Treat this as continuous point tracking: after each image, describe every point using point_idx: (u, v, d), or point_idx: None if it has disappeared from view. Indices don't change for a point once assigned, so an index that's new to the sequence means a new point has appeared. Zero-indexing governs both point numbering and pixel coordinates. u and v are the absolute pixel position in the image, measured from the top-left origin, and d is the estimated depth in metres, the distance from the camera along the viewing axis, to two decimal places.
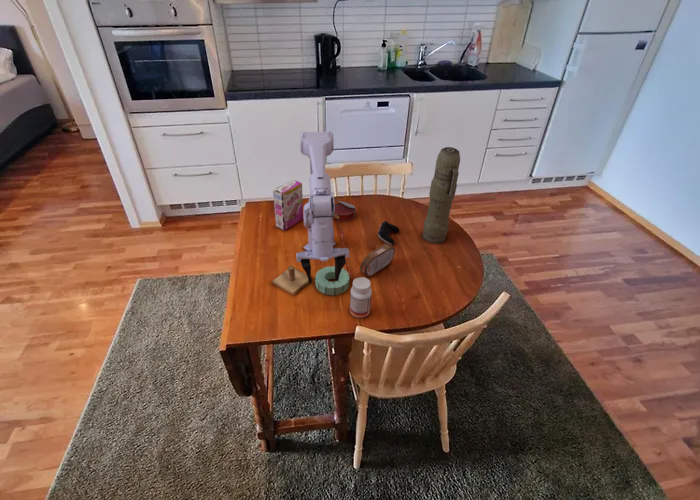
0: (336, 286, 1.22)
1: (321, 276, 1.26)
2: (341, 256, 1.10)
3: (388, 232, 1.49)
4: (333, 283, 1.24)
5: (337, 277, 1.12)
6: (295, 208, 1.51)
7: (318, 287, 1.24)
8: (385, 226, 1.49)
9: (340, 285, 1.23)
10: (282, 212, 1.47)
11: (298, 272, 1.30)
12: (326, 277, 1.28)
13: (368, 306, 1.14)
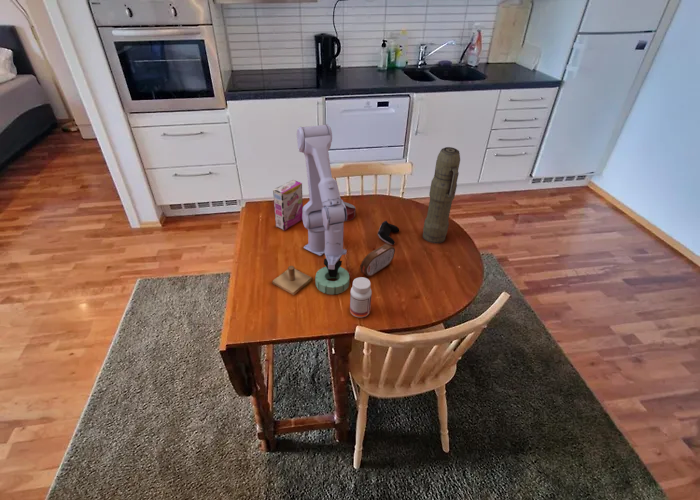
0: (337, 285, 1.23)
1: (321, 275, 1.26)
2: None
3: (388, 232, 1.49)
4: (333, 282, 1.24)
5: None
6: (295, 208, 1.51)
7: (318, 286, 1.25)
8: (385, 226, 1.49)
9: (340, 284, 1.23)
10: (282, 212, 1.47)
11: (298, 272, 1.30)
12: (326, 276, 1.28)
13: (368, 306, 1.14)
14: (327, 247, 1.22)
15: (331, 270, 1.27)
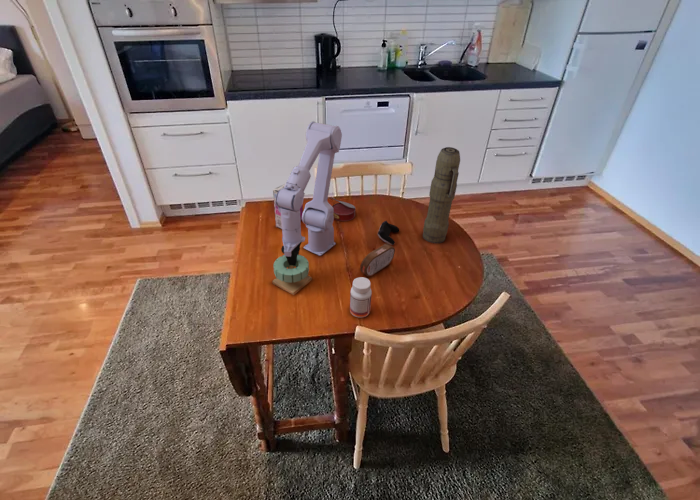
0: (294, 273, 1.20)
1: (280, 263, 1.24)
2: None
3: (388, 232, 1.49)
4: (291, 270, 1.21)
5: (298, 254, 1.29)
6: None
7: (276, 274, 1.22)
8: (385, 226, 1.49)
9: (298, 272, 1.21)
10: None
11: None
12: (285, 265, 1.26)
13: (368, 306, 1.14)
14: (284, 234, 1.19)
15: (290, 258, 1.24)
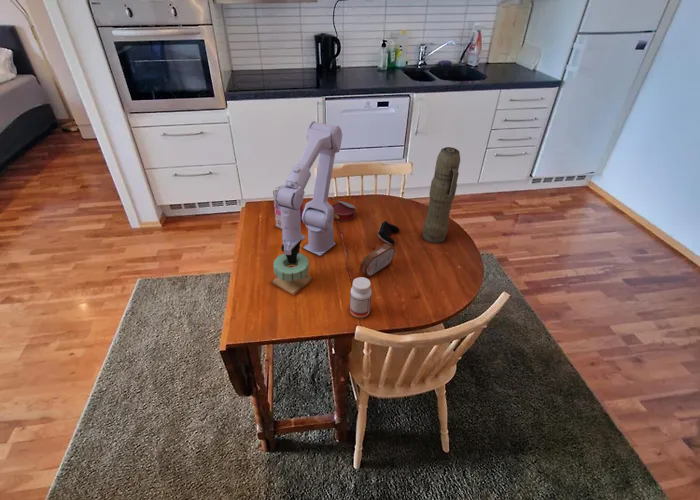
0: (294, 271, 1.20)
1: (280, 262, 1.24)
2: None
3: (388, 232, 1.49)
4: (291, 269, 1.21)
5: (298, 252, 1.28)
6: None
7: (276, 273, 1.22)
8: (385, 226, 1.49)
9: (298, 271, 1.20)
10: None
11: None
12: (285, 263, 1.26)
13: (368, 306, 1.14)
14: (284, 232, 1.19)
15: (290, 256, 1.24)
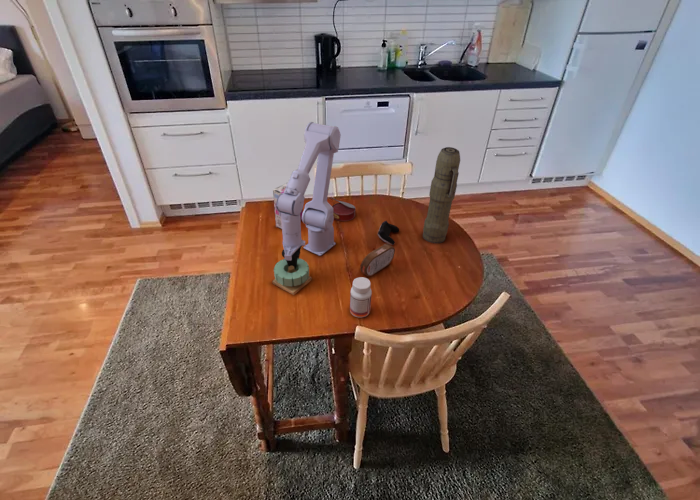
0: (294, 277, 1.21)
1: (280, 267, 1.25)
2: None
3: (388, 232, 1.49)
4: (291, 274, 1.22)
5: (298, 257, 1.30)
6: None
7: (276, 278, 1.23)
8: (385, 226, 1.49)
9: (298, 276, 1.22)
10: None
11: None
12: (286, 268, 1.27)
13: (368, 306, 1.14)
14: (284, 238, 1.20)
15: (290, 262, 1.25)
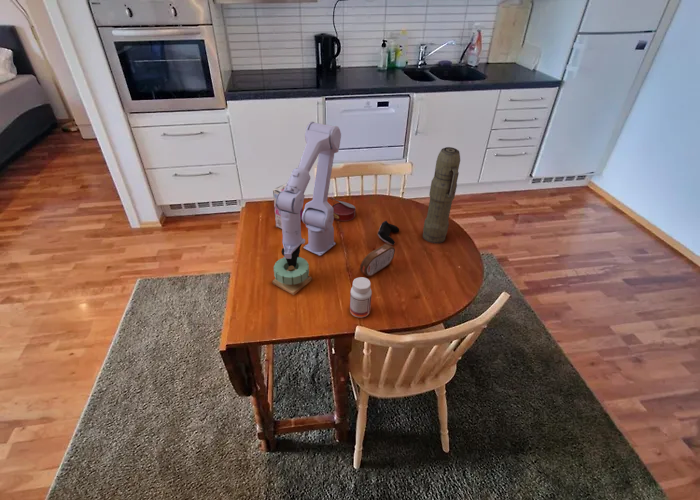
0: (294, 275, 1.21)
1: (280, 266, 1.24)
2: None
3: (388, 232, 1.49)
4: (291, 272, 1.22)
5: (298, 256, 1.29)
6: None
7: (276, 277, 1.23)
8: (385, 226, 1.49)
9: (298, 274, 1.21)
10: None
11: None
12: (285, 267, 1.26)
13: (368, 306, 1.14)
14: (284, 236, 1.20)
15: (290, 260, 1.25)
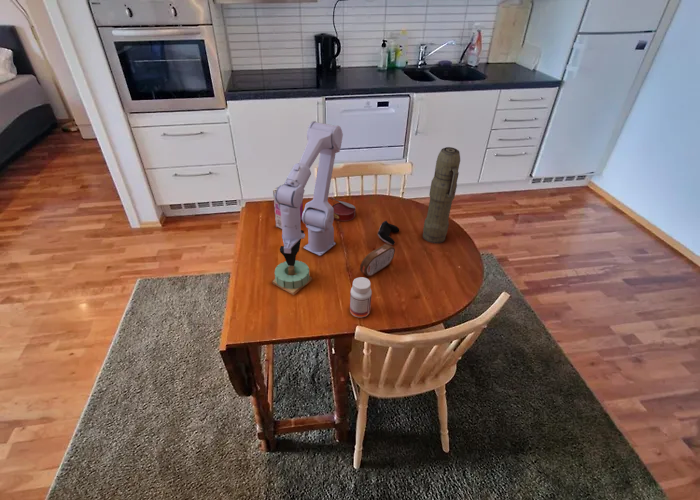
0: (295, 279, 1.23)
1: (281, 270, 1.26)
2: None
3: (388, 232, 1.49)
4: (292, 277, 1.24)
5: (299, 248, 1.29)
6: None
7: (277, 281, 1.24)
8: (385, 226, 1.49)
9: (298, 279, 1.23)
10: None
11: None
12: (286, 271, 1.28)
13: (368, 306, 1.14)
14: (284, 231, 1.18)
15: (288, 258, 1.22)
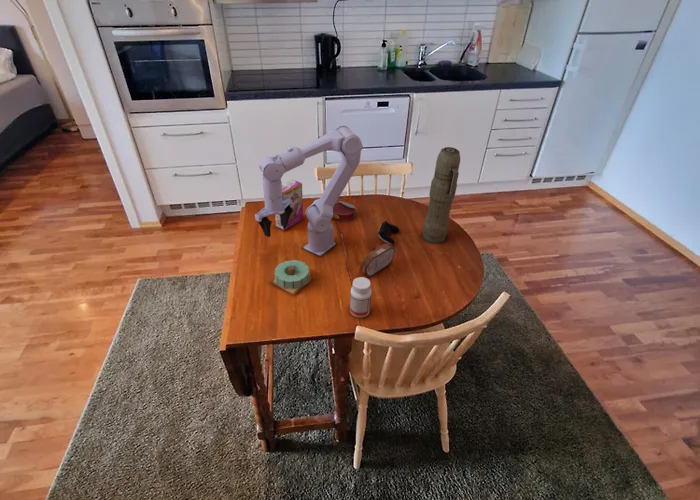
0: (295, 279, 1.23)
1: (281, 270, 1.26)
2: (287, 206, 1.31)
3: (388, 232, 1.49)
4: (292, 277, 1.24)
5: (286, 224, 1.34)
6: (295, 208, 1.51)
7: (277, 281, 1.24)
8: (385, 226, 1.49)
9: (298, 279, 1.23)
10: None
11: None
12: (286, 271, 1.28)
13: (368, 306, 1.14)
14: (264, 200, 1.25)
15: (264, 228, 1.29)
